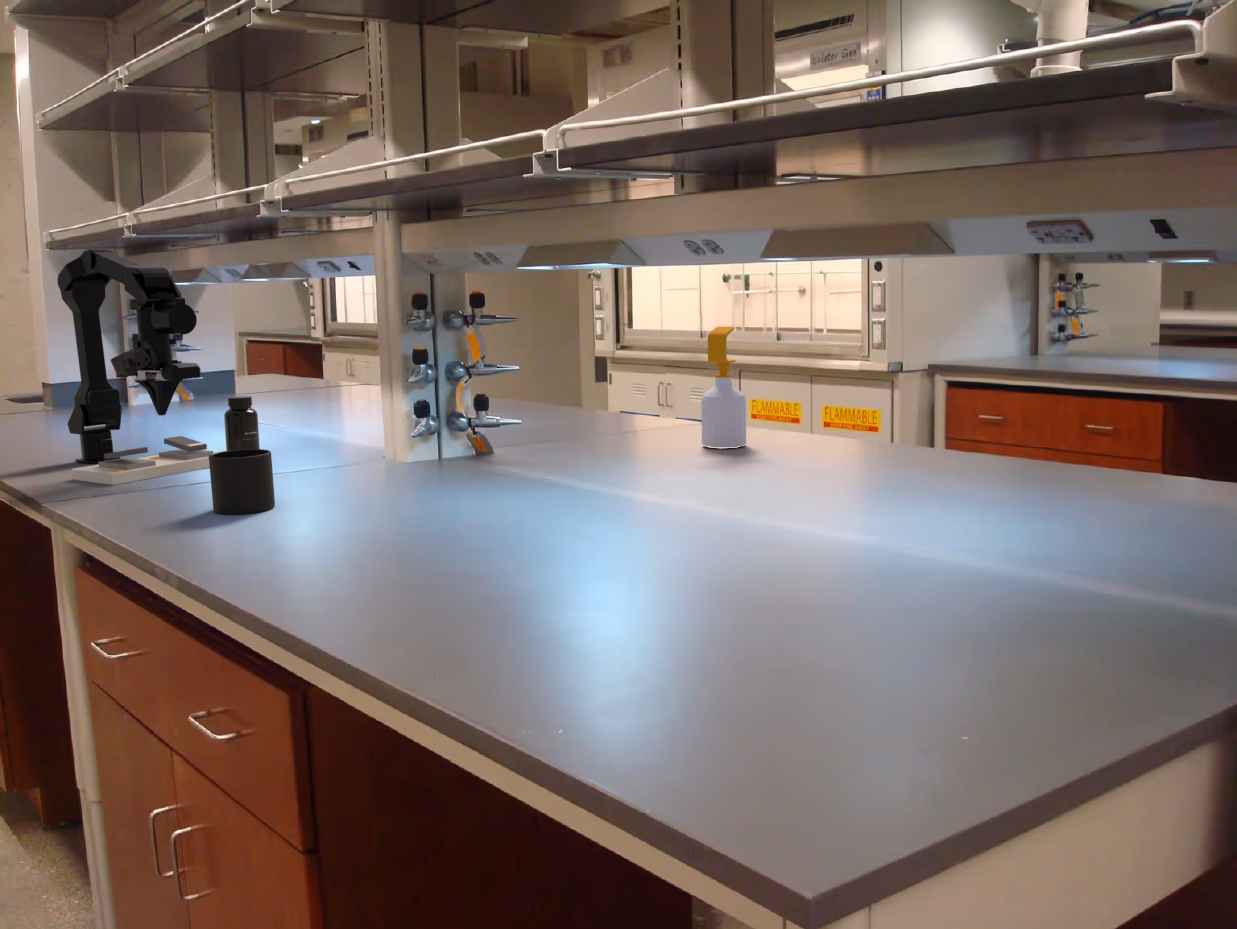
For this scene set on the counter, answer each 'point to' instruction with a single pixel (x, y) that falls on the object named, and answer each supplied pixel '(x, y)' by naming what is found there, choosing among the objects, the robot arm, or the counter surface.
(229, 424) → the supplement bottle
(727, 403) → the soap bottle
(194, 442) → the rocker
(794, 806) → the counter surface
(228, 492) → the mug
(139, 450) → the rocker
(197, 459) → the switch panel
